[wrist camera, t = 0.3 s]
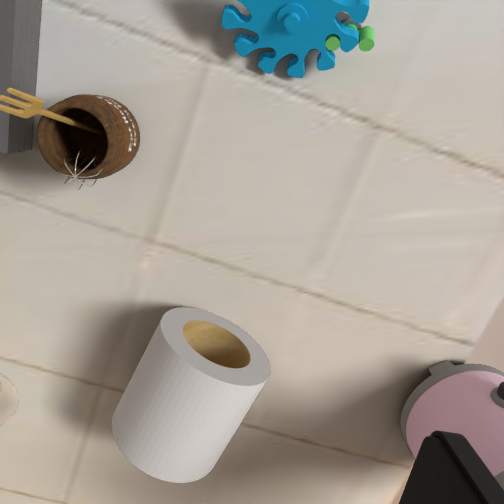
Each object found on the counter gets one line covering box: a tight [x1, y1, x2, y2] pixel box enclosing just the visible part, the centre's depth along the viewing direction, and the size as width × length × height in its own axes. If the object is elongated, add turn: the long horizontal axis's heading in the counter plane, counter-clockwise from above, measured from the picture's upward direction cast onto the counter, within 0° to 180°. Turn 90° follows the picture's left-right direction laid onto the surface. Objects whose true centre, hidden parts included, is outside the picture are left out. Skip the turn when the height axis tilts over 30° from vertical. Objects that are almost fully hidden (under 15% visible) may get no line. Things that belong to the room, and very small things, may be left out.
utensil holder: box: [0, 88, 140, 190], centre depth 30 cm, size 6×6×12 cm
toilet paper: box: [112, 307, 271, 483], centre depth 37 cm, size 10×10×10 cm
